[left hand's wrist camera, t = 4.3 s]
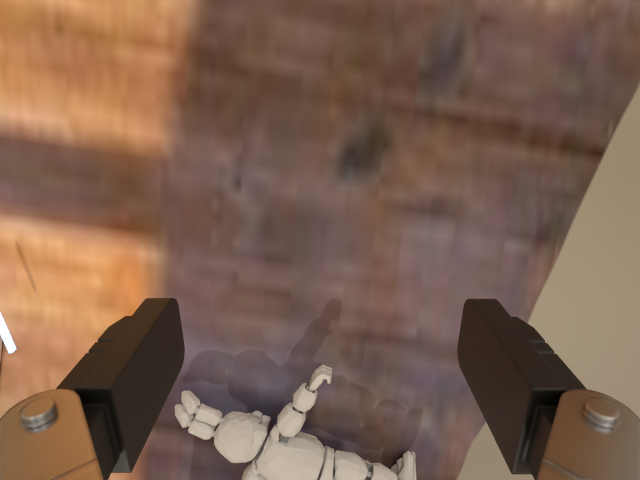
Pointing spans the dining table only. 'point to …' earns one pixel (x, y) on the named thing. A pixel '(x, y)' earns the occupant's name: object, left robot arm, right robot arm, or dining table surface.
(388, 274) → the dining table surface
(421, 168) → the dining table surface
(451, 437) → the dining table surface
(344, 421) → the dining table surface
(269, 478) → the toy
